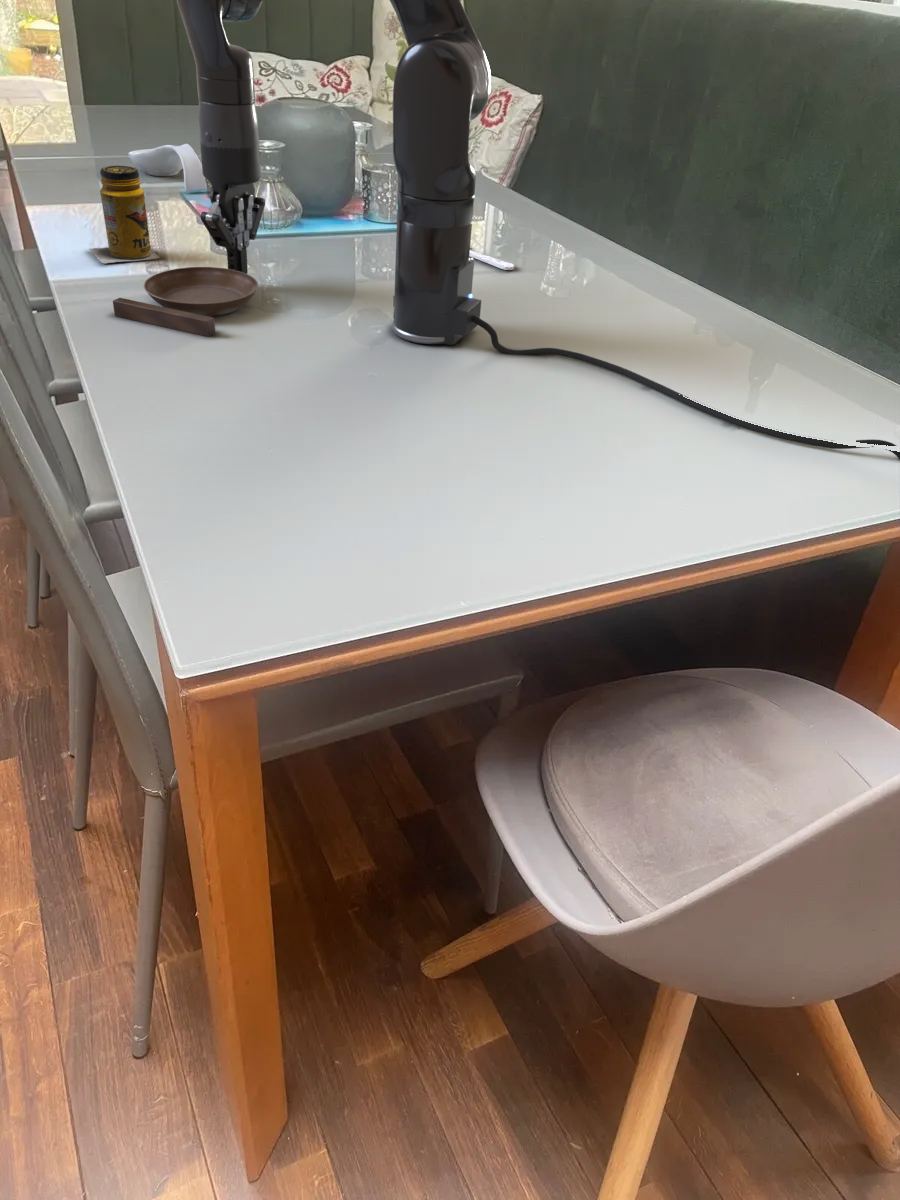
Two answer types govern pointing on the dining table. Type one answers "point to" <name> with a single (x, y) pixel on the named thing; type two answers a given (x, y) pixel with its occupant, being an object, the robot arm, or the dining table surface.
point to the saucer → (202, 290)
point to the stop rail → (164, 317)
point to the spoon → (492, 260)
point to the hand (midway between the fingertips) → (238, 274)
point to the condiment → (124, 217)
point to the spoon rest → (172, 164)
